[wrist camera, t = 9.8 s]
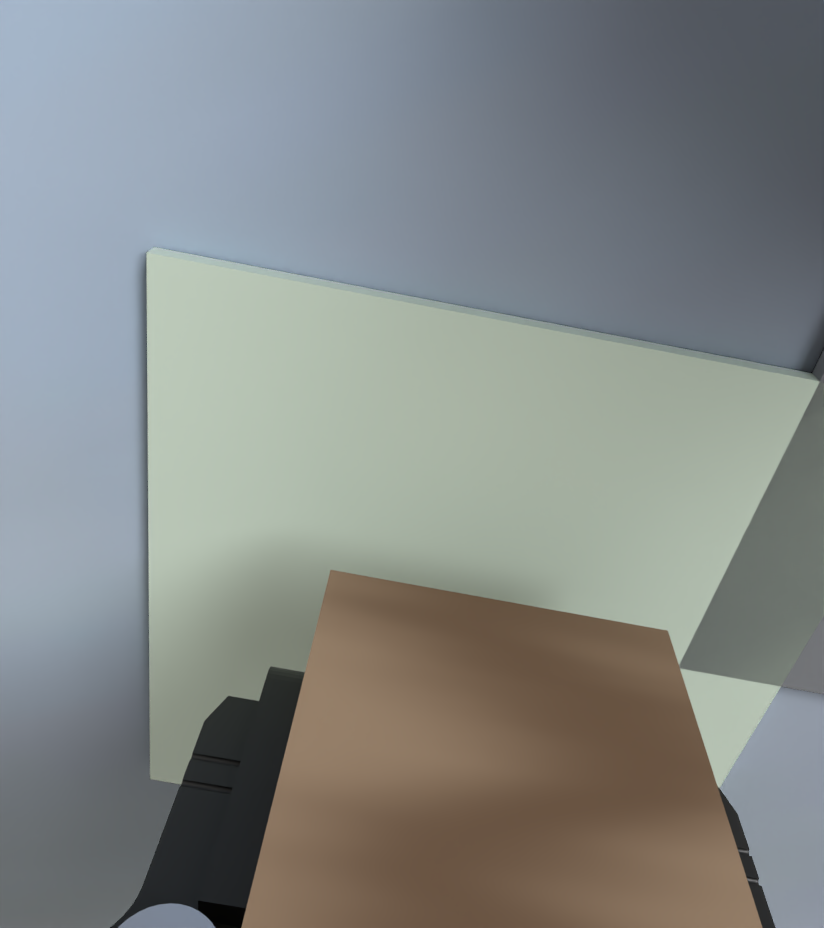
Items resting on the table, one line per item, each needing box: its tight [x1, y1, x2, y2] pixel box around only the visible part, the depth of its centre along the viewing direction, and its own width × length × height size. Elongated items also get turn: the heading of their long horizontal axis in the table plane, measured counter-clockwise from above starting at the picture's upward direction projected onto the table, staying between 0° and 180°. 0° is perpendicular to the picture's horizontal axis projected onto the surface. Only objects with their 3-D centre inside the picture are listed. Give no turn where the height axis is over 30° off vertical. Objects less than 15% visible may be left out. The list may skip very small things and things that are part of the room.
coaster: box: [147, 247, 824, 788], centre depth 14 cm, size 12×12×1 cm
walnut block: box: [241, 570, 762, 928], centre depth 10 cm, size 5×5×6 cm
